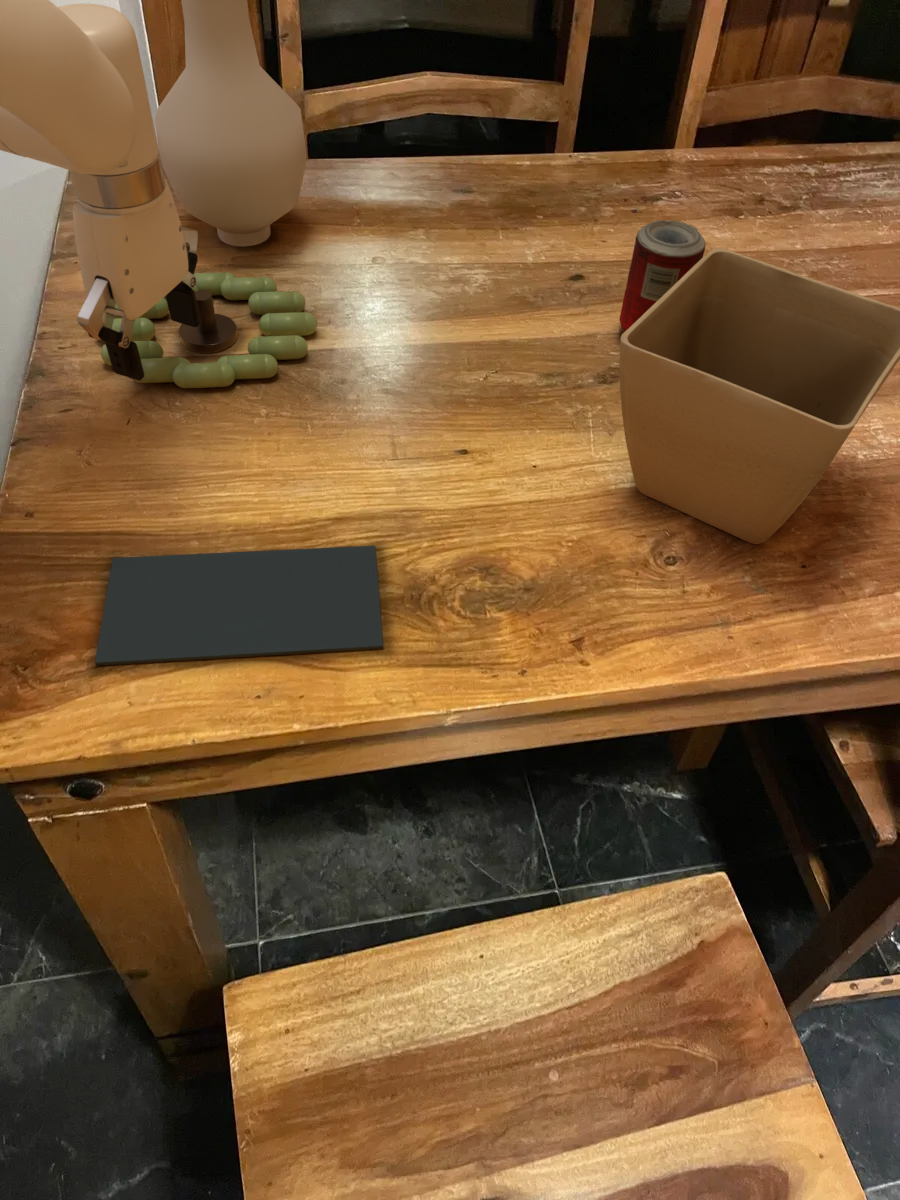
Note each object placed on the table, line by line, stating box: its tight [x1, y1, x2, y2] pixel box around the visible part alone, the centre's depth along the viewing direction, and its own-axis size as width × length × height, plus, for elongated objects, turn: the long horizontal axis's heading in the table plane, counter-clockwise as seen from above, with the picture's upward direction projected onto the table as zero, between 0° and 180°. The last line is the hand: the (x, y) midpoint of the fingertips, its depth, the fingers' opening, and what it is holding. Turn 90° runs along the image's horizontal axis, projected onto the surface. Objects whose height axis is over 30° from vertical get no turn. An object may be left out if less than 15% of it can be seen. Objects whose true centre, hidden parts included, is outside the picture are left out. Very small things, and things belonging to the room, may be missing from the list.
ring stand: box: [178, 290, 238, 354], centre depth 98 cm, size 6×6×5 cm
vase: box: [154, 0, 307, 248], centre depth 104 cm, size 17×16×28 cm
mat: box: [94, 545, 384, 667], centre depth 76 cm, size 22×11×1 cm, turn 96°
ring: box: [100, 271, 318, 389], centre depth 99 cm, size 23×19×2 cm
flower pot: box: [619, 247, 900, 545], centre depth 82 cm, size 19×19×17 cm
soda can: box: [619, 219, 707, 334], centre depth 99 cm, size 7×7×12 cm
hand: (158, 348), depth 92 cm, fingers open, 9 cm apart
